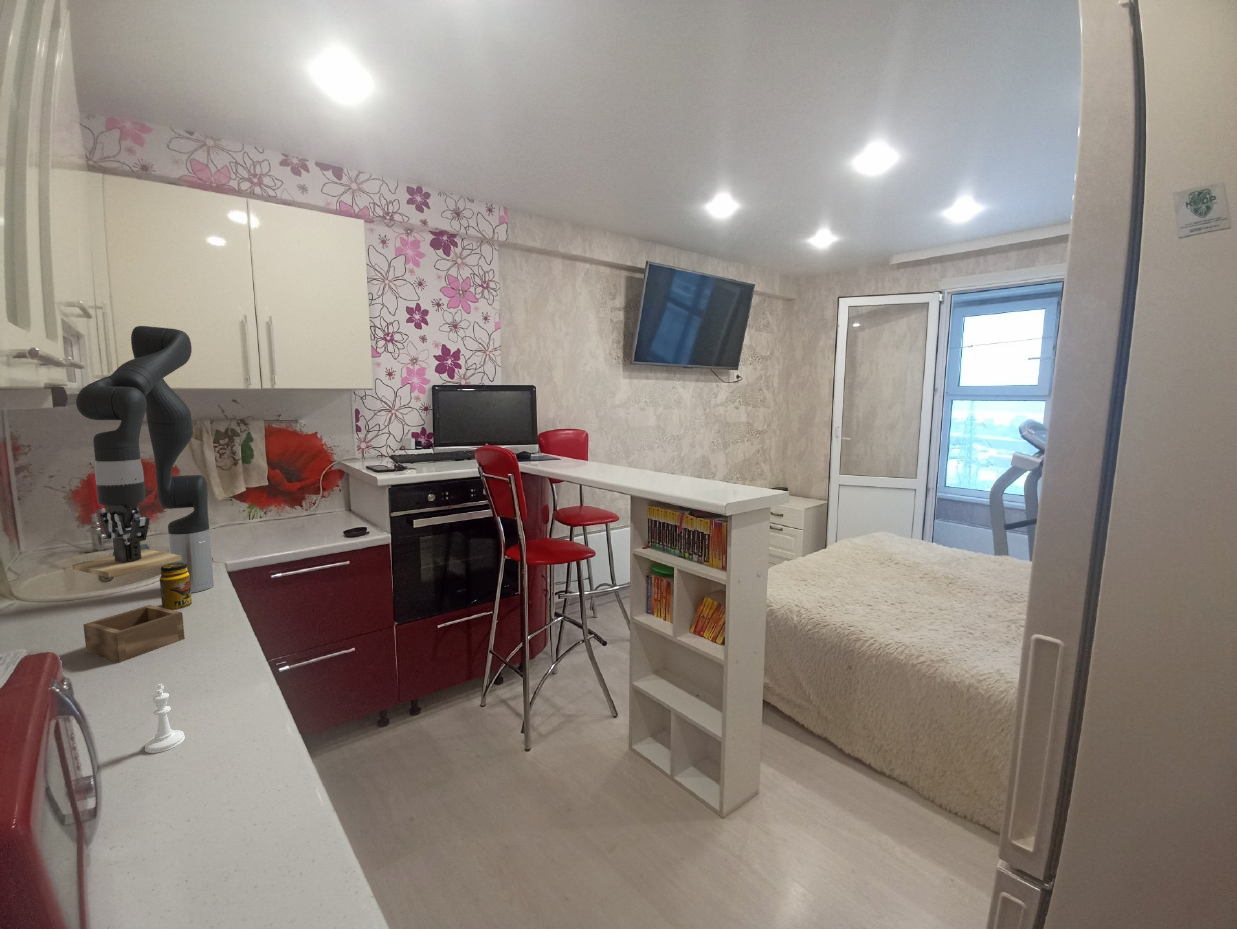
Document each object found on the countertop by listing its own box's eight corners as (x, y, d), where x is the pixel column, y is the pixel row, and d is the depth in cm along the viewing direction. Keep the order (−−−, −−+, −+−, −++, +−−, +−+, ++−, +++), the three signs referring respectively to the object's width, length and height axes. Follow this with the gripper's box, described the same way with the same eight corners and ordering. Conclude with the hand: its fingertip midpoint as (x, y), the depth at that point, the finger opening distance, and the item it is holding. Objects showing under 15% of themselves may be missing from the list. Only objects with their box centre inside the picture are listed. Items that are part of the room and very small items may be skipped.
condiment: (192, 610, 139) (188, 566, 138) (149, 617, 134) (145, 571, 133) (195, 601, 145) (191, 559, 144) (154, 608, 140) (150, 564, 139)
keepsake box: (86, 655, 114) (83, 624, 113) (152, 633, 125) (149, 604, 124) (120, 666, 110) (116, 633, 109) (184, 642, 121) (182, 612, 120)
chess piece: (139, 756, 82) (133, 695, 81) (152, 738, 87) (146, 680, 86) (178, 748, 84) (173, 689, 83) (189, 731, 89) (184, 674, 87)
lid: (73, 572, 112) (69, 541, 111) (146, 556, 124) (143, 527, 123) (109, 581, 107) (106, 548, 106) (181, 563, 119) (179, 533, 118)
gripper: (161, 480, 114) (168, 558, 116) (122, 476, 119) (129, 551, 121) (118, 485, 107) (126, 568, 109) (78, 481, 112) (87, 560, 114)
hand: (128, 559), depth 115 cm, fingers closed on lid, 3 cm apart
